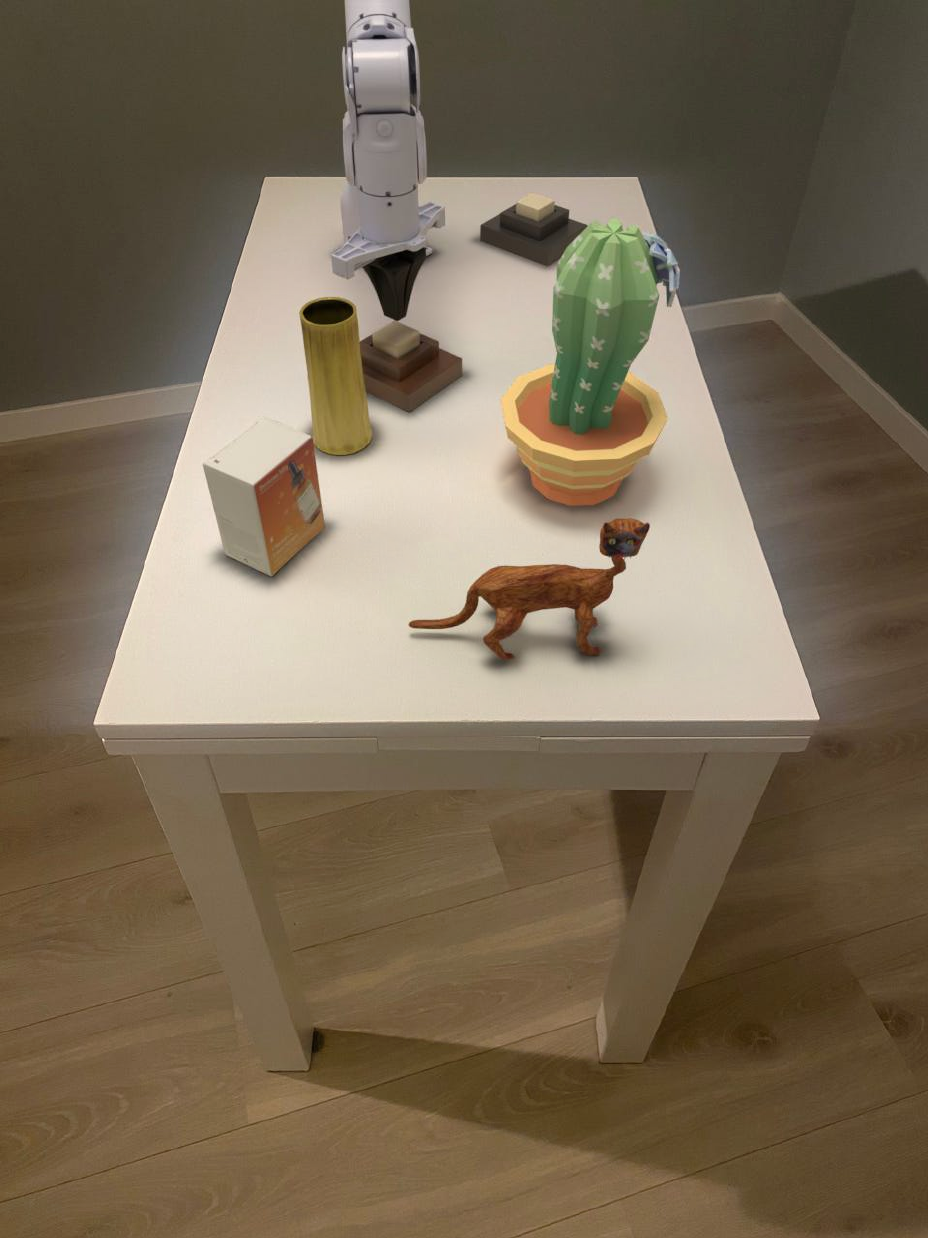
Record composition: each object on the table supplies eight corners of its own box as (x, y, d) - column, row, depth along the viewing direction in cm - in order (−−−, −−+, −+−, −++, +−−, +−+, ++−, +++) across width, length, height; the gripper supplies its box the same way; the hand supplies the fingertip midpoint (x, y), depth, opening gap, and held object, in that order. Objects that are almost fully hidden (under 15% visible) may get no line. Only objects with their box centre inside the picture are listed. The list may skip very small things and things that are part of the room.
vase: (383, 428, 97) (373, 302, 86) (354, 462, 93) (340, 334, 82) (332, 414, 98) (316, 288, 88) (301, 446, 95) (281, 319, 84)
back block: (479, 240, 124) (480, 211, 121) (520, 217, 129) (521, 187, 126) (547, 266, 120) (549, 236, 117) (586, 240, 125) (589, 211, 122)
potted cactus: (650, 538, 86) (703, 285, 67) (484, 517, 88) (491, 265, 69) (657, 437, 96) (705, 192, 77) (509, 420, 98) (521, 177, 79)
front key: (373, 348, 100) (371, 333, 99) (395, 334, 102) (394, 319, 101) (398, 360, 99) (397, 345, 98) (420, 345, 101) (419, 331, 100)
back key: (515, 215, 122) (516, 201, 120) (531, 205, 124) (532, 192, 122) (537, 223, 120) (538, 209, 119) (553, 213, 122) (555, 199, 121)
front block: (334, 375, 103) (330, 343, 100) (388, 341, 108) (386, 309, 105) (409, 413, 99) (407, 380, 96) (462, 375, 103) (462, 343, 100)
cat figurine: (406, 664, 76) (398, 541, 66) (411, 605, 80) (403, 481, 70) (628, 668, 76) (654, 545, 65) (620, 608, 80) (644, 484, 70)
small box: (271, 579, 82) (252, 487, 74) (223, 555, 84) (199, 463, 76) (327, 527, 87) (314, 435, 79) (280, 505, 89) (263, 413, 81)
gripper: (366, 223, 82) (376, 358, 92) (468, 170, 90) (467, 300, 100) (309, 201, 85) (325, 334, 95) (413, 151, 93) (418, 279, 103)
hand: (394, 315), depth 98 cm, fingers closed
